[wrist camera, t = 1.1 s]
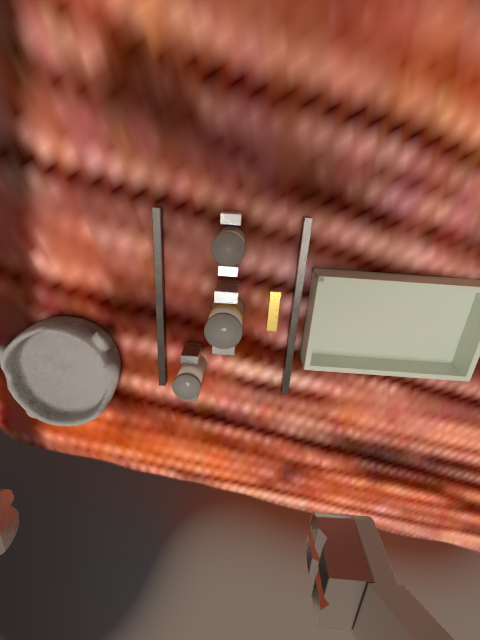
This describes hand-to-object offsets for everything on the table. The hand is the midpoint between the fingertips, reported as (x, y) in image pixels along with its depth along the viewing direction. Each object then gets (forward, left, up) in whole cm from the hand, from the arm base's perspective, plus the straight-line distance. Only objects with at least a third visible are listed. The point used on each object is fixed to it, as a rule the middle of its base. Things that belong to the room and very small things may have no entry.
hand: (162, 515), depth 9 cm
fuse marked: (+5, 0, -31) cm, 31 cm away
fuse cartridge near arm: (-3, 0, -31) cm, 31 cm away
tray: (+5, +19, -31) cm, 36 cm away
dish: (+14, -20, -31) cm, 40 cm away
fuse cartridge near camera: (+13, -4, -31) cm, 34 cm away
